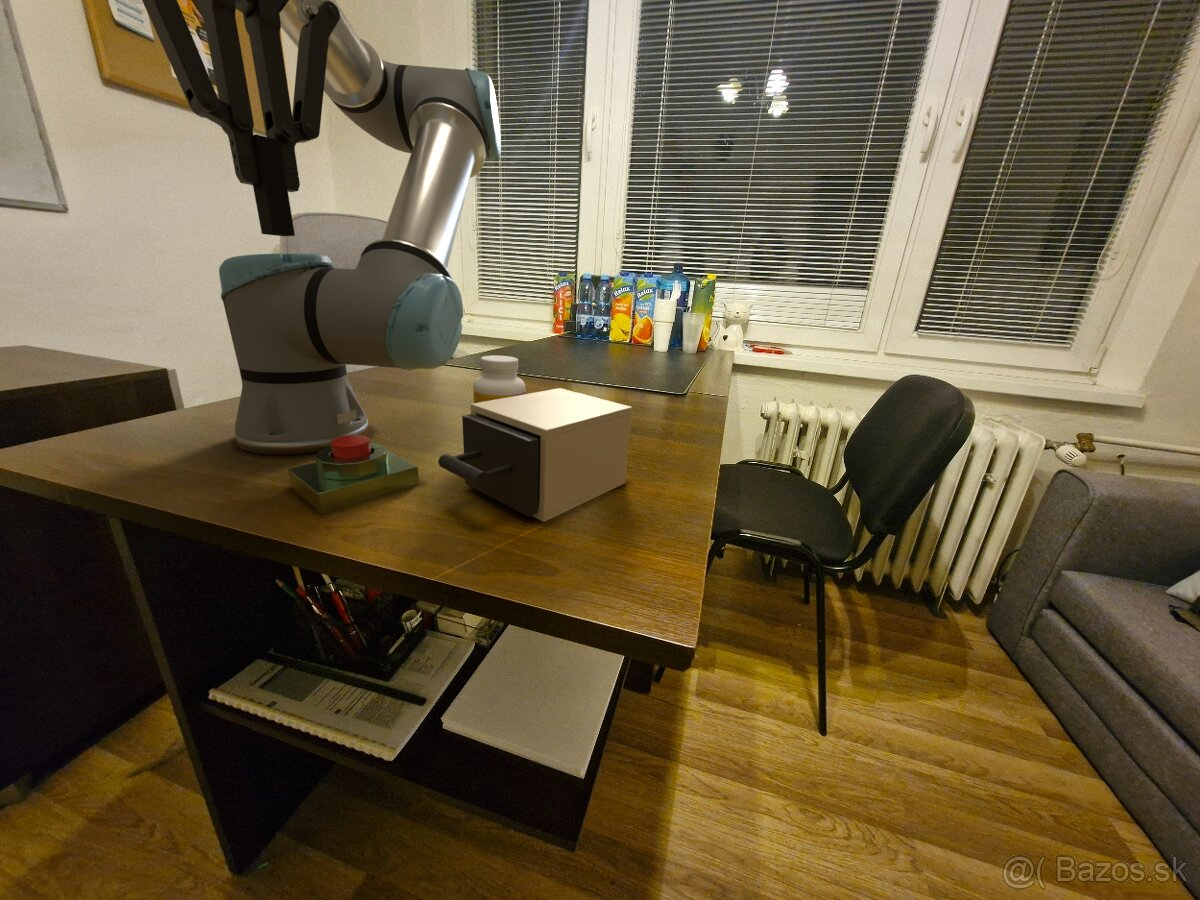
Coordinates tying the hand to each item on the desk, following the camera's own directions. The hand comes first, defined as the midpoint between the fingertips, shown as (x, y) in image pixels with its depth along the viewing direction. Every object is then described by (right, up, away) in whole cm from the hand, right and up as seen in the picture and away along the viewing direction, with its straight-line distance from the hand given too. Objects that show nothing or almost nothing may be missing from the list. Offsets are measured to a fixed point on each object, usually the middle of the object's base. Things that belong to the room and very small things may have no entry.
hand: (278, 234), depth 35 cm
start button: (0, -18, +11) cm, 21 cm away
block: (-1, -21, +13) cm, 25 cm away
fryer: (+20, -21, +16) cm, 34 cm away
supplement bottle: (+12, -18, +25) cm, 33 cm away
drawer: (+18, -22, +13) cm, 31 cm away
